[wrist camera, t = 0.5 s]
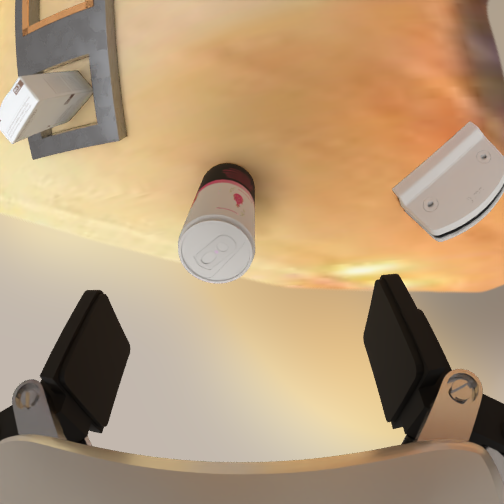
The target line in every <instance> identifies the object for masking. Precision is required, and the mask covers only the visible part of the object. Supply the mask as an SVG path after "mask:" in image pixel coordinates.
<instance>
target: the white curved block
mask: <svg viewBox="0 0 504 504" xmlns="http://www.w3.org/2000/svg"><path fill="white" fill-rule="evenodd" d="M392 190H393V192H394V193H395V194H396V196H397V197H398V198H399V201H400V204H401V207H403V208H404V209H405V210H404V211H405V212H406V213H407V214H408V215H409V216H410V217H411V218H412V219H414V220H415V221H416V222H417V223H418V224H419V225H420V226H421V227H422V228H423V229H424V230H425V231H426V232H427V233H428V234H429V235H430V236H431V237H432V238H434V239H435V240H436V241H438V242H442V241H445V240H448V239H450V238H453V237H455V236H457V235H459V234H461V233H463V232H465V231H466V230H468V229H469V228H471V227H473V226H474V225H475V224H477V223H478V222H479V221H480V220H482V219H483V218H484V217H485V216H486V215H487V214H488V213H489V212H490V211H491V210H492V208H493V207H494V206H495V205H496V203H497V202H498V201H499V199H500V197H501V196H502V194H503V192H504V156H503V155H502V154H501V153H500V152H499V151H498V150H497V149H496V148H495V146H494V145H493V144H492V143H491V142H490V141H489V140H488V139H487V138H486V137H485V136H484V135H483V133H482V132H481V131H480V129H479V128H478V127H477V126H476V125H474V124H473V123H472V122H468V123H467V124H466V125H465V126H464V127H463V128H462V129H461V130H460V131H458V132H457V133H456V134H455V135H454V136H453V137H452V138H451V139H449V140H448V141H447V142H446V143H445V144H444V145H443V146H441V147H440V148H439V149H438V150H437V151H436V152H435V153H433V154H432V155H431V156H430V157H429V158H428V159H427V160H425V161H424V162H423V163H422V164H421V165H420V166H418V167H417V168H416V169H415V170H414V171H413V172H411V173H410V174H409V175H408V176H407V177H406V178H404V179H403V180H402V181H401V182H400V183H398V184H397V185H396V186H395V187H394V188H393V189H392Z"/></svg>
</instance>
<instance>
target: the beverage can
mask: <svg viewBox="0 0 504 504" xmlns="http://www.w3.org/2000/svg"><path fill="white" fill-rule="evenodd" d="M178 252H179V257H180V260H181V263H182V264H183V266H184V267H185V269H186V270H187V271H188V272H189V273H190V274H192V275H193V276H195V277H196V278H198V279H200V280H202V281H205V282H209V283H227V282H230V281H233V280H236V279H237V278H239V277H241V276H242V275H243V274H244V273H245V272H246V271H247V270H248V268H249V267H250V265H251V262H252V260H253V258H254V254H255V187H254V182H253V179H252V177H251V175H250V174H249V173H248V172H247V171H246V170H245V169H244V168H242V167H240V166H238V165H235V164H220V165H217V166H215V167H213V168H211V169H210V170H209V171H208V172H207V173H206V175H205V176H204V178H203V180H202V183H201V185H200V187H199V190H198V192H197V194H196V197H195V199H194V202H193V204H192V206H191V209H190V211H189V214H188V216H187V219H186V221H185V224H184V226H183V229H182V231H181V234H180V236H179V241H178Z"/></svg>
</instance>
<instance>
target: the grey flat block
mask: <svg viewBox="0 0 504 504" xmlns="http://www.w3.org/2000/svg"><path fill="white" fill-rule="evenodd" d="M15 36H16V56H17V68H18V77H19V76H26V75H34V74H43V73H44V72H46V71H49V70H51V69H54V68H56V67H59V66H62V65H65V64H67V63H70V62H73V61H76V60H79V59H82V58H85V57H88V56H89V61H90V71H91V80H92V88H93V96H94V103H95V110H96V117H97V123H93V124H88V125H84V126H80V127H76V128H72V129H68V130H64V131H61V132H57V133H53V134H52V132H51V128H50V129H47V130H44V131H42V132H39V133H37V134H34V135H32V136H30V137H28V141H29V145H30V150H31V154H32V158H33V160H34V159H38V158H41V157H45V156H49V155H53V154H57V153H62V152H66V151H70V150H75V149H79V148H84V147H89V146H94V145H99V144H104V143H109V142H115V141H120V140H121V139H123V138H125V137H126V136H127V133H126V126H125V120H124V113H123V105H122V98H121V90H120V81H119V72H118V61H117V50H116V37H115V20H114V0H85V2H83V3H81V4H78V5H76V6H73V7H71V8H68V9H66V10H63V11H61V12H59V13H56V14H54V15H52V16H50V17H48V18H45V19H43V20H41V21H39V0H16V1H15Z"/></svg>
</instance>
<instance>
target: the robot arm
mask: <svg viewBox="0 0 504 504" xmlns="http://www.w3.org/2000/svg"><path fill="white" fill-rule="evenodd" d="M363 338H364V344H365V348H366V351H367V354H368V357H369V361H370V364H371V367H372V371H373V374H374V378H375V381H376V385H377V388H378V392H379V395H380V399H381V402H382V406H383V410H384V414H385V417H386V420H387V422H391V423H392V427H393V429H395V428H400V427H403V428H404V432H405V434H407V435H406V437H405V438H404V440H403V442H402V444H401V445H397V446H391V447H387V448H382V449H376V450H372V451H365V452H359V453H352V454H346V455H339V456H332V457H323V458H314V459H304V460H293V461H276V462H206V461H190V460H178V459H168V458H158V457H151V456H144V455H137V454H130V453H124V452H119V451H113V450H108V449H103V448H98V447H93V446H92V444H91V442H90V440H89V438H88V436H87V435H88V431H89V430H90V431H93V432H98V433H102V431H103V428H104V427H105V426H107V424H108V421H109V417H110V414H111V410H112V407H113V404H114V401H115V397H116V394H117V391H118V388H119V384H120V381H121V378H122V375H123V372H124V369H125V366H126V363H127V359H128V357H129V354H130V344H129V342H128V340H127V338H126V336H125V334H124V332H123V330H122V328H121V326H120V323H119V321H118V319H117V317H116V315H115V312H114V310H113V308H112V306H111V304H110V301H109V299H108V297H107V296H106V294H103V292H102V291H101V290H87V291H85V293H84V294H83V296H82V297H81V299H80V301H79V302H78V304H77V306H76V308H75V309H74V311H73V313H72V315H71V317H70V318H69V320H68V322H67V324H66V326H65V327H64V329H63V331H62V333H61V335H60V337H59V339H58V341H57V342H56V344H55V346H54V348H53V350H52V352H51V354H50V356H49V358H48V360H47V362H46V364H45V367H44V368H43V371H42V373H41V375H40V377H41V378H42V380H41V382H39V381H37V380H34V379H31V380H27V381H24V382H22V383H21V384H20V385H19V386H18V387H17V388H16V390H15V391H14V393H13V397H12V406H10V407H9V408H7V409H5V410H3V411H2V412H0V504H504V404H503V403H501V402H499V401H497V400H495V399H492V398H490V397H488V396H486V395H484V394H483V388H482V384H481V382H480V380H479V378H478V377H477V376H476V375H475V374H474V373H472V372H470V371H469V370H464V369H455V370H451V368H450V365H449V363H448V361H447V359H446V357H445V355H444V353H443V350H442V348H441V346H440V344H439V342H438V340H437V338H436V336H435V334H434V332H433V330H432V328H431V327H430V324H429V322H428V321H427V319H426V317H425V315H424V313H423V312H422V311H421V310H419V309H417V307H416V305H415V303H414V301H413V299H412V298H411V296H410V294H409V292H408V290H407V288H406V287H405V285H404V283H403V281H402V280H401V278H400V276H399V275H398V274H388V275H382V276H381V277H380V280H376V281H375V286H374V291H373V295H372V300H371V305H370V309H369V314H368V318H367V322H366V327H365V331H364V337H363Z"/></svg>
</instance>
